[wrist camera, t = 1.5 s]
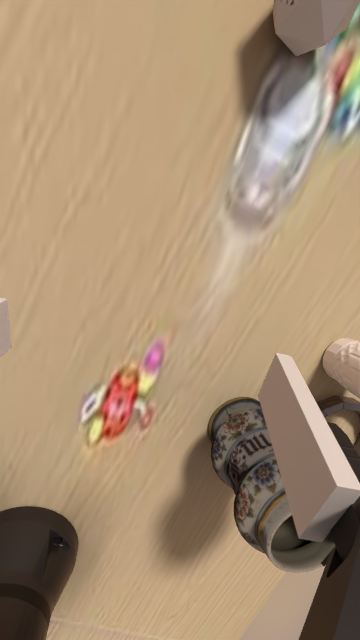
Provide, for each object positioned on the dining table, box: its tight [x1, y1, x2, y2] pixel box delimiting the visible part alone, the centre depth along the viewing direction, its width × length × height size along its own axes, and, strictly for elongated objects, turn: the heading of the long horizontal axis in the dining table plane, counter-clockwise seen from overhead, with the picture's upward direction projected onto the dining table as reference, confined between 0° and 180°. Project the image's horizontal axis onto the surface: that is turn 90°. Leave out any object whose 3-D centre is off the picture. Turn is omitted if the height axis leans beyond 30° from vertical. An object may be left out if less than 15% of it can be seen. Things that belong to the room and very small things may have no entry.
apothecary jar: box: [208, 397, 335, 573], centre depth 34 cm, size 12×12×18 cm
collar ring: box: [317, 396, 360, 456], centre depth 46 cm, size 13×13×2 cm
